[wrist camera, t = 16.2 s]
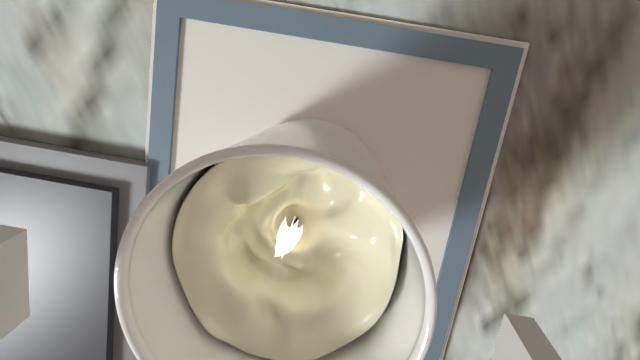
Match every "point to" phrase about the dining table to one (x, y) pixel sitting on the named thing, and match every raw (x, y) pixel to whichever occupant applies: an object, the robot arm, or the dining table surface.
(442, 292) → the marked square
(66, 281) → the ink pad
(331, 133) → the candle holder
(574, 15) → the dining table surface
